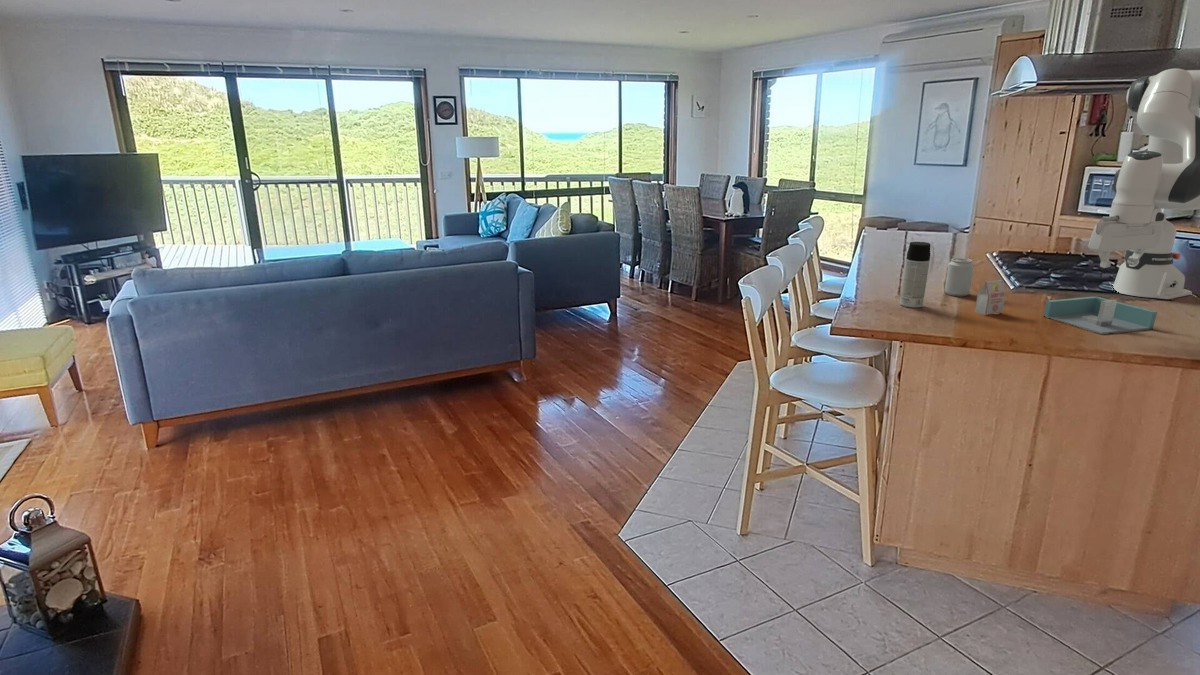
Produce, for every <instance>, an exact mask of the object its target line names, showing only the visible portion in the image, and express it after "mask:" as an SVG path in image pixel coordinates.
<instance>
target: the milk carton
mask: <svg viewBox="0 0 1200 675" xmlns="http://www.w3.org/2000/svg"><path fill="white" fill-rule="evenodd" d="M1004 286H1005V285H1004V280H1002V279H1001V280H1000V279H999V280H993V281H984V283H983V286H982V287H981V289H980V290H979V292H978V293H977V295H976V302H975V308H974V313H975V312H977V313H980V314H984V315H987V314H994V313H1001V312H1002V313H1003V310H1004V305H1005V299H1006V291H1005V287H1004ZM977 313H976V314H977ZM980 314H979V315H980Z"/></svg>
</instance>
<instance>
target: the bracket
mask: <svg viewBox="0 0 1200 675" xmlns="http://www.w3.org/2000/svg"><path fill="white" fill-rule="evenodd" d="M1117 302H1118V300H1114V299H1108V300H1107V301H1101V306H1100V310H1099V314H1098V317H1096V316H1093V315H1091V316H1081V319H1080V321H1084V322H1087V323H1091V324H1094V325H1097V326H1108V325H1112V321H1113V316H1114V312H1115V308H1116V304H1117Z"/></svg>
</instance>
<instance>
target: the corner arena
mask: <svg viewBox="0 0 1200 675" xmlns="http://www.w3.org/2000/svg"><path fill="white" fill-rule="evenodd" d="M1107 300H1109V299H1108V298H1104V297H1100V296H1097V295H1095V296H1086V297H1085V296H1083V297H1082V296H1081V297H1074V298H1061V299H1051V300H1046V301H1045V307H1044V312H1043V316H1045V317H1048V318H1051V319H1054V320H1053V321H1055V320H1058V321H1061V322H1064V323H1067V324H1066V325H1068V324H1071V325H1074V326H1077V327H1080V328H1079V329H1081V328H1084V329H1087V330H1090V331H1093V332H1092V333H1094V332H1096V333H1095V334H1097V333H1100V334H1103V335H1110V334H1109V333H1113V334H1122V333H1131V332H1139V331H1140V332H1141V331H1149V330H1153V329H1154V326H1155V323H1156V322H1155V321H1156V318H1157V315H1158V311H1154V310H1152V309H1147V308H1144V307H1141V306H1140V307H1139V306H1135V305H1132V304H1127V303H1123V302H1120V301H1117V304H1116V308H1115V312H1114V316H1113V321H1112V325H1108V326H1097V325H1094V324H1091V323H1087V322H1084V321H1080V319H1081V316H1091V315H1093V316H1096V317H1098V314H1099V310H1100V306H1101V301H1107ZM1045 317H1044V318H1045ZM1048 318H1047V319H1048ZM1051 319H1050V320H1051ZM1058 321H1057V322H1058ZM1061 322H1060V323H1061ZM1064 323H1063V324H1064ZM1071 325H1070V326H1071ZM1074 326H1073V327H1074ZM1077 327H1076V328H1077ZM1084 329H1083V330H1084ZM1087 330H1086V331H1087ZM1090 331H1089V332H1090ZM1121 332H1122V333H1121ZM1100 334H1099V335H1100Z"/></svg>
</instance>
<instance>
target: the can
mask: <svg viewBox="0 0 1200 675" xmlns="http://www.w3.org/2000/svg"><path fill="white" fill-rule="evenodd" d="M974 267H975V265H974V263H973V259H970V258H964V257H963V258H962V257H956V258H955V257H954V258H951V261H950V262H948V266H947V272H946V278H945V283H944V284H945V286H944V292H945V294H947V295H949V296H952V297H966V296H968V295H969V294H971V286H972V279H973V275H974V274H973V273H974V269H975V268H974Z"/></svg>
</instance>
